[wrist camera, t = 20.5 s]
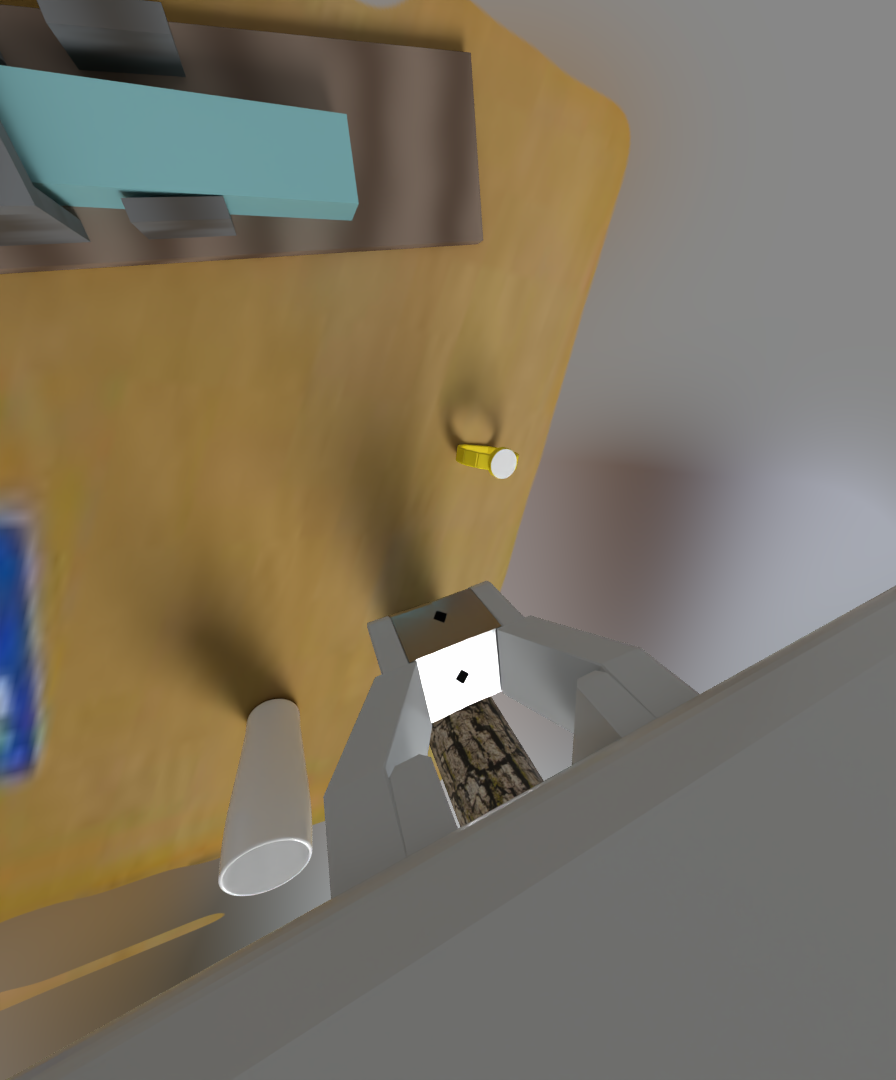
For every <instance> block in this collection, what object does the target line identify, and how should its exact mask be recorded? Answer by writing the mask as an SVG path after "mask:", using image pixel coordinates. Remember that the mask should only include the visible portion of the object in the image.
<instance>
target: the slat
mask: <svg viewBox="0 0 896 1080" xmlns="http://www.w3.org/2000/svg"><path fill="white" fill-rule="evenodd" d="M0 120H1V122H2V124H3V126H4V128H5V130H6V132H7V134H8V136H9V138H10V140H11V142H12V144H13V146H14V148H15V150H16V152H17V154H18V156H19V158H20V160H21V162H22V164H23V166H24V168H25V170H26V172H27V174H28V176H29V178H30V180H31V182H32V184H33V186H34V187H36V188H37V189H38V190H40V191H41V192H42V193H44V194H45V195H47V196H48V197H49V198H51V199H52V200H53V201H55V202H56V203H57V204H59V205H60V206H75V207H94V208H114V209H125V207H124V205H123V203H122V200H121V198H143V197H202V196H223V197H224V200H225V203H226V205H227V208H228V211H229V213H230V214H231V215H251V216H271V217H290V218H310V219H329V220H349V221H352V219H353V216H354V214H355V212H356V209H357V207H358V204H359V202H358V195H357V188H356V180H355V173H354V166H353V158H352V151H351V144H350V136H349V129H348V122H347V114H342V113H335V112H328V111H321V110H314V109H307V108H300V107H293V106H286V105H279V104H272V103H265V102H258V101H250V100H243V99H236V98H229V97H222V96H215V95H208V94H201V93H194V92H187V91H180V90H173V89H166V88H159V87H151V86H144V85H137V84H130V83H123V82H116V81H109V80H102V79H95V78H88V77H81V76H74V75H67V74H60V73H53V72H45V71H38V70H31V69H24V68H17V67H10V66H3V65H0Z"/></svg>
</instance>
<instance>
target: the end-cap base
mask: <svg viewBox="0 0 896 1080" xmlns="http://www.w3.org/2000/svg"><path fill="white" fill-rule="evenodd" d="M37 2H38V4H39V7H40V9H39V8H29V7H19V6H10V5H0V65H3V66H10V67H17V68H24V69H31V70H38V71H45V72H53V73H60V74H67V75H74V76H81V77H88V78H95V79H102V80H109V81H116V82H123V83H130V84H137V85H144V86H151V87H159V88H166V89H173V90H180V91H187V92H194V93H201V94H208V95H215V96H222V97H229V98H236V99H243V100H250V101H258V102H265V103H272V104H279V105H286V106H293V107H300V108H307V109H314V110H321V111H328V112H335V113H342V114H347V122H348V129H349V136H350V144H351V151H352V158H353V166H354V173H355V180H356V188H357V195H358V202H359V204H358V207H357V209H356V212H355V214H354V216H353V219H352V221H349V220H329V219H310V218H290V217H271V216H251V215H231V214H230V213H229V211H228V208H227V205H226V203H225V200H224V197H223V196H202V197H143V198H121V200H122V203H123V205H124V207H125V209H114V208H94V207H75V206H60V205H59V204H57V203H56V202H55V201H53V200H52V199H51V198H49V197H48V196H47V195H45V194H44V193H42V192H41V191H40V190H38V189H37V188H36V187H34V186H33V184H32V182H31V180H30V178H29V176H28V174H27V172H26V170H25V168H24V166H23V164H22V162H21V160H20V158H19V156H18V154H17V152H16V150H15V148H14V146H13V144H12V142H11V140H10V138H9V136H8V134H7V132H6V130H5V128H4V126H3V124H2V122H1V120H0V274H5V273H21V272H37V271H53V270H69V269H85V268H101V267H117V266H133V265H150V264H166V263H182V262H198V261H214V260H230V259H246V258H262V257H278V256H294V255H310V254H326V253H342V252H359V251H375V250H391V249H407V248H423V247H439V246H455V245H471V244H478V243H480V242H481V241H483V232H482V217H481V202H480V187H479V172H478V157H477V141H476V126H475V111H474V96H473V81H472V66H471V53H468V52H459V51H449V50H439V49H429V48H420V47H410V46H400V45H390V44H381V43H371V42H361V41H351V40H342V39H332V38H322V37H312V36H303V35H293V34H283V33H273V32H263V31H254V30H244V29H234V28H224V27H215V26H205V25H195V24H185V23H176V22H167V19H166V16H165V13H164V10H163V7H162V4H161V2H153V1H145V0H37Z"/></svg>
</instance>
